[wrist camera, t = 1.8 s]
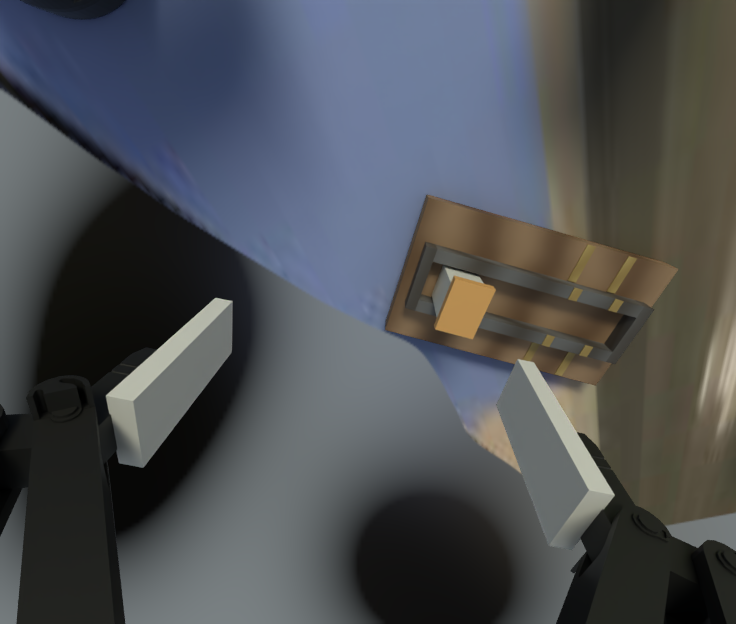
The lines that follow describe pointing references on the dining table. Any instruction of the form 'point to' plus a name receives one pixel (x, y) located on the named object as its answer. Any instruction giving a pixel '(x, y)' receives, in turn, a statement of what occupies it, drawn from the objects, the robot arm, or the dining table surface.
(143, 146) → the dining table surface
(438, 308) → the fader knob
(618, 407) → the dining table surface
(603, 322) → the wooden tray
